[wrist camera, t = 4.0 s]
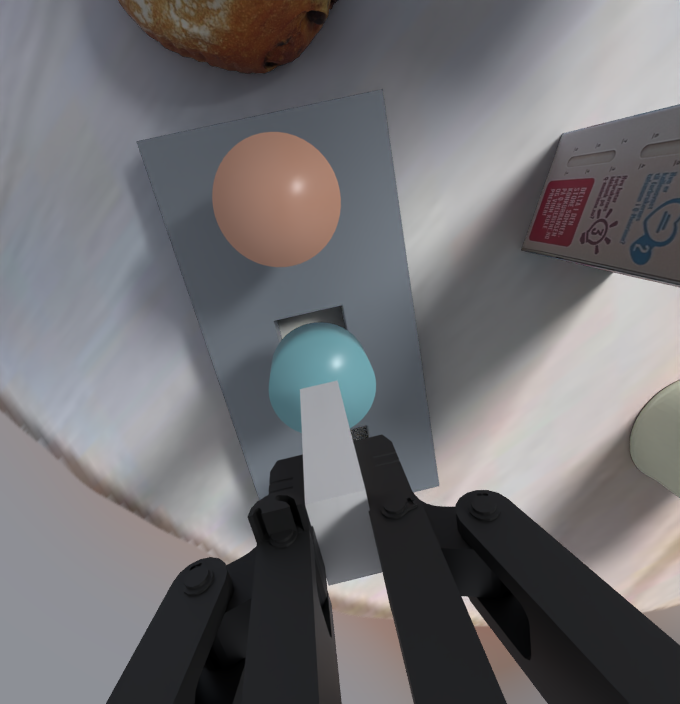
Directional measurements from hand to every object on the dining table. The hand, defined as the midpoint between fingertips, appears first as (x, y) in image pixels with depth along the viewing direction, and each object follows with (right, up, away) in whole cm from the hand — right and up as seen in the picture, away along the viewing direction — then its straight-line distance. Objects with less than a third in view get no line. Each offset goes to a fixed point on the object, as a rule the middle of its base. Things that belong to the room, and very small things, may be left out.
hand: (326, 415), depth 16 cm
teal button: (-1, +2, +6) cm, 7 cm away
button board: (-1, +4, +10) cm, 10 cm away
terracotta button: (-2, +10, +3) cm, 11 cm away
